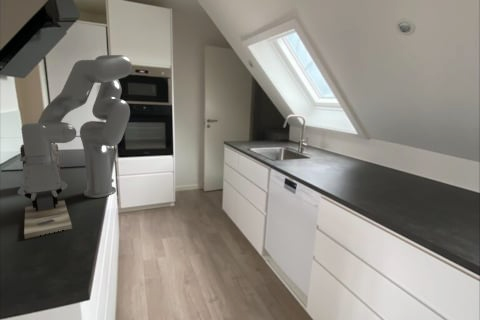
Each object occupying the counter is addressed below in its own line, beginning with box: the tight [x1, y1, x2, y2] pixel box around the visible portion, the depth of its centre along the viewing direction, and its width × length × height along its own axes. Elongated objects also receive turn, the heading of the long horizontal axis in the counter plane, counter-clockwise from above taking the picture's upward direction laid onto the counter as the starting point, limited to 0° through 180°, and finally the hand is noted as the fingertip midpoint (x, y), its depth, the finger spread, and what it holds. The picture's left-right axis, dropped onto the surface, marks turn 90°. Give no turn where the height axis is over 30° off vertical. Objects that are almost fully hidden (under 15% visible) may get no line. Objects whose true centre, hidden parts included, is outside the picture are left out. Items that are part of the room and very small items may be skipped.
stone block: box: [19, 143, 61, 178], centre depth 119 cm, size 13×7×20 cm, turn 101°
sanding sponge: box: [36, 191, 54, 213], centre depth 96 cm, size 8×4×5 cm, turn 37°
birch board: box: [23, 199, 73, 240], centre depth 92 cm, size 24×12×2 cm, turn 38°
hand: (45, 207), depth 96 cm, fingers closed on sanding sponge, 4 cm apart
